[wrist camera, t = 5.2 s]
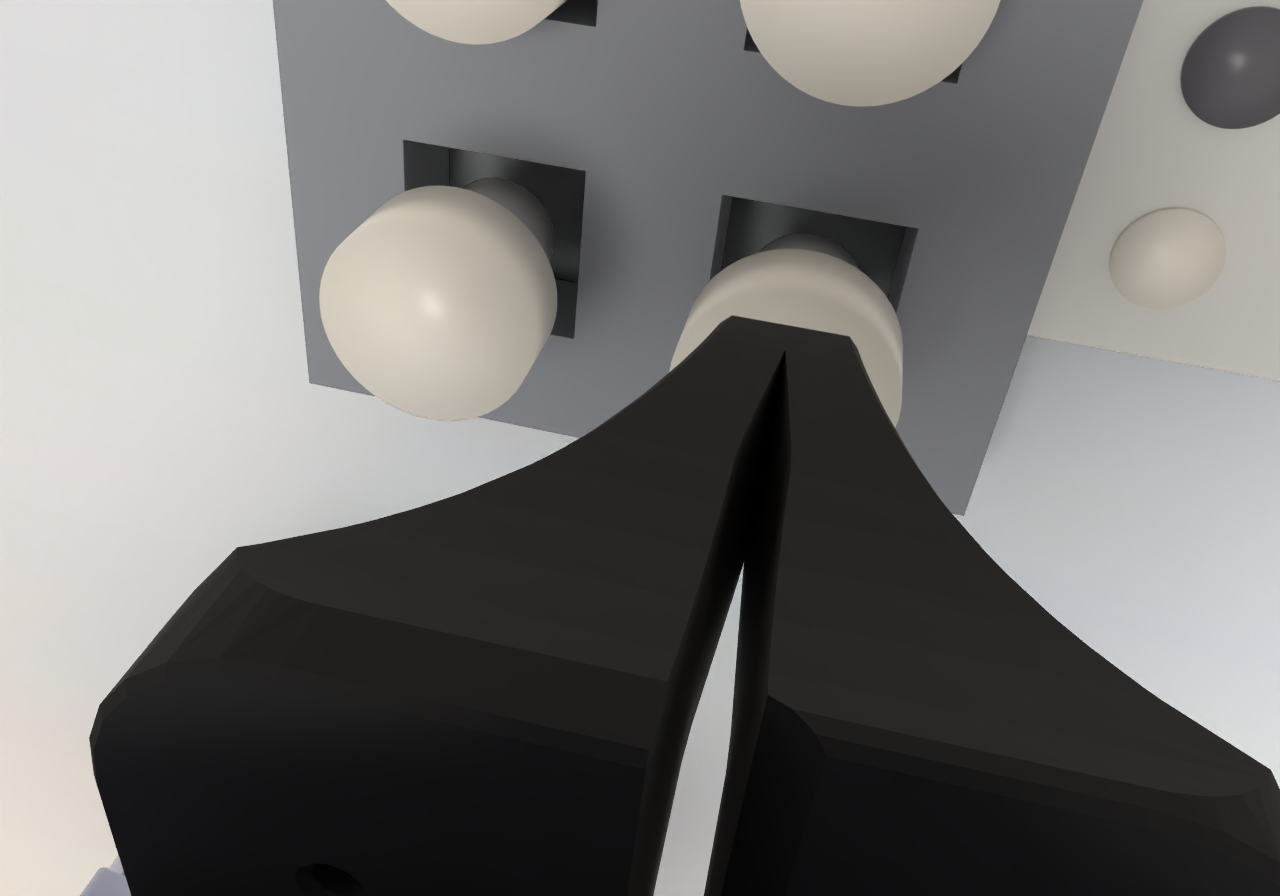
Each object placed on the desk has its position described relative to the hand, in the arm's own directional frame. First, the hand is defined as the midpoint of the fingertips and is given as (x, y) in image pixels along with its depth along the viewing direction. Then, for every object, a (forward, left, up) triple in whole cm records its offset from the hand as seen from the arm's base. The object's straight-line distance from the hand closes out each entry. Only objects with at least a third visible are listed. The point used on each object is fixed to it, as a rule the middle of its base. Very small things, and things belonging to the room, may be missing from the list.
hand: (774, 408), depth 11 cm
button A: (+2, +6, -8) cm, 10 cm away
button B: (-2, +1, -8) cm, 8 cm away
